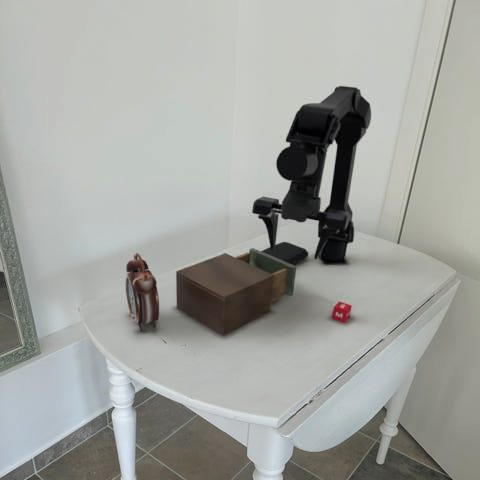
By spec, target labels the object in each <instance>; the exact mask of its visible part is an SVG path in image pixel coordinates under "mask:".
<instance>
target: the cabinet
mask: <svg viewBox="0 0 480 480" xmlns="http://www.w3.org/2000/svg"><path fill="white" fill-rule="evenodd" d="M235 257H236V256H233V255H231V254H228V253H225V252H224V253H221V254H219V255H217V256H214V257H211V258H209V259H205V260H202V261H200V262H198V263H195V264H191V265H189V266H186V267H184V268H181V269H177V270H176V271H175V280H176V281H175V285H176V286H175V287H176V290H175V291H176V309H177V310H179V311H180V312H182V313H183V314H185V315H187V316H188V317H190V318H192V319H193V320H195V321H197V322H199V323H200V324H202V325H203V326H205V327H207V328H209V329H211V330H212V331H213V332H215V333H217V334H218V335H220V336H222V337H225V336H226V335H228V334H230V333H233V332H234V331H236V330H239V329H241V328H242V327H244V326H246V325H247V324H249V323H251V322H253V321H255V320H258V319H259V318H261V317H263V316H265V315H267V314H269V313H271V307H272V302H271V298H272V288H273V278H274V275H272V274H270V273H268V272H266V271H264V270H261V269H259V268H257V267H255V266H253V265H250V264H248V263H246V262H244V261H242V260H239V259H237V258H235Z"/></svg>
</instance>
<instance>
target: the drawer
mask: <svg viewBox="0 0 480 480" xmlns="http://www.w3.org/2000/svg"><path fill="white" fill-rule="evenodd" d="M261 251H262V250H259V249H256V248H253V247H252V248H251V247H250V248H249V252H245V253H242V254H239V255H237V256H234V257H235V258H237V259H239V260H242V261H244V262H246V263H248V264H250V265H253V266H255V267H257V268H259V269H261V270H264V271H266V272H268V273H270V274H272V275H274V278H273V288H272V298H271V303H273V302H275V301H277V300H279V299H281V298H282V297H285V295H286V296H288V297H291V296H293V295H294V288H295V282H296V273H297V266H296V265H295V264H294V265H292V264H289V263H287V262H285V261H282V260H280V259H278V258H275V257H273V256H271V255H268V254H266V253H264V252H261Z"/></svg>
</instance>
